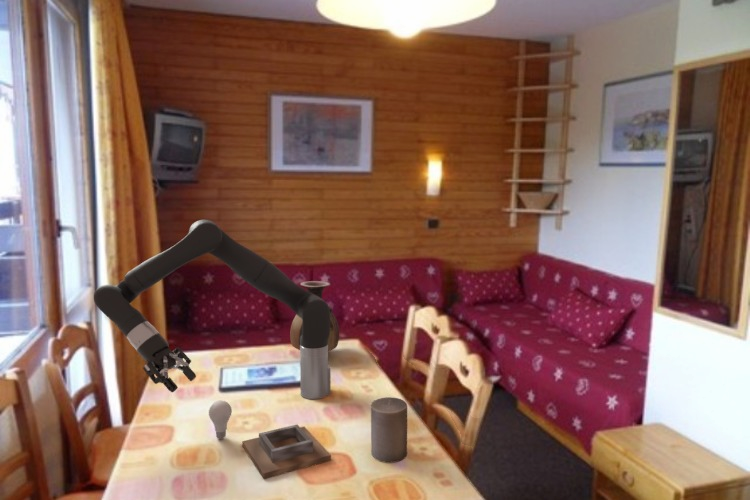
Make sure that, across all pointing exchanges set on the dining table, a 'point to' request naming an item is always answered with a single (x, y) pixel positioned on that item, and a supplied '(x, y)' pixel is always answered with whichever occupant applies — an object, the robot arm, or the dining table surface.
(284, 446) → the bulb socket
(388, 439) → the pillar candle
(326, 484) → the dining table surface
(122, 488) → the dining table surface
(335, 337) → the vase
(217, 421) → the lightbulb
